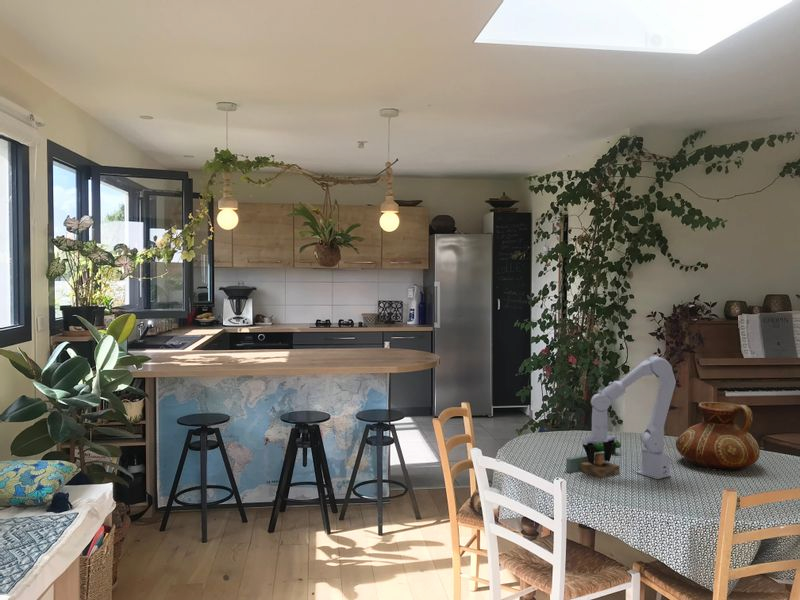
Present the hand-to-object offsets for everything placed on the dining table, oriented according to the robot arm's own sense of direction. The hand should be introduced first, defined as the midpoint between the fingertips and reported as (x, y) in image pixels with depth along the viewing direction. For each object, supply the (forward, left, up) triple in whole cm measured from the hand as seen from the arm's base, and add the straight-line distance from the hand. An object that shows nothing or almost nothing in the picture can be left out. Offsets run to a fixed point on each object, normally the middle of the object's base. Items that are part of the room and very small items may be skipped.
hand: (599, 461), depth 247 cm
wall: (+6, 0, -4) cm, 7 cm away
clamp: (+17, -23, -4) cm, 29 cm away
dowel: (0, 0, -4) cm, 4 cm away
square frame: (0, 0, -4) cm, 4 cm away
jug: (-16, -49, -4) cm, 52 cm away
